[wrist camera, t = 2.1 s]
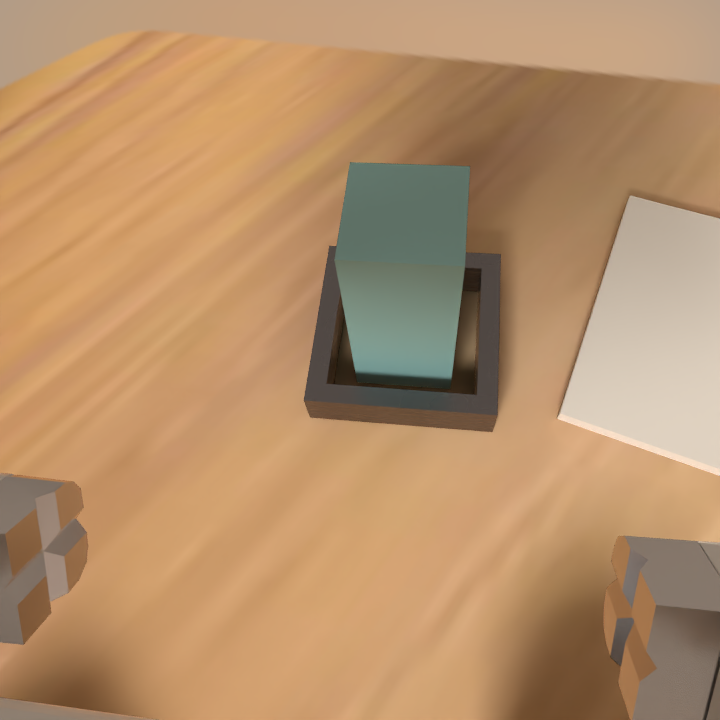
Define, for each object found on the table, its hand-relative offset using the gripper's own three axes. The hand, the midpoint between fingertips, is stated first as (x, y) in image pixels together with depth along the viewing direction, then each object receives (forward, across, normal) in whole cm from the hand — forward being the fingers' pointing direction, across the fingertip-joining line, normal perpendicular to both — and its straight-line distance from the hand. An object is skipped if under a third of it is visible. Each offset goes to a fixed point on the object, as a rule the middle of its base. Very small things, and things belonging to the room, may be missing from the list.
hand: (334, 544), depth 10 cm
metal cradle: (+19, 0, +3) cm, 19 cm away
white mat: (+20, -14, +2) cm, 24 cm away
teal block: (+19, 0, +3) cm, 19 cm away
